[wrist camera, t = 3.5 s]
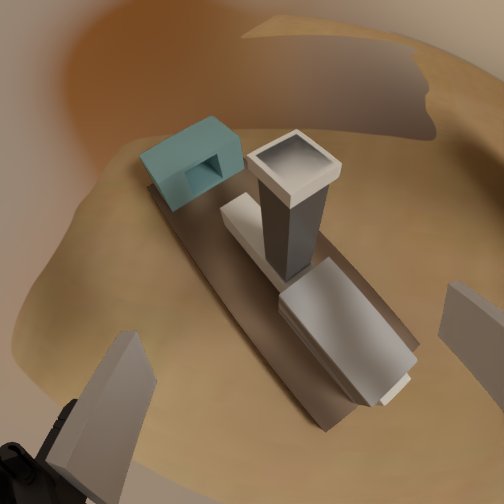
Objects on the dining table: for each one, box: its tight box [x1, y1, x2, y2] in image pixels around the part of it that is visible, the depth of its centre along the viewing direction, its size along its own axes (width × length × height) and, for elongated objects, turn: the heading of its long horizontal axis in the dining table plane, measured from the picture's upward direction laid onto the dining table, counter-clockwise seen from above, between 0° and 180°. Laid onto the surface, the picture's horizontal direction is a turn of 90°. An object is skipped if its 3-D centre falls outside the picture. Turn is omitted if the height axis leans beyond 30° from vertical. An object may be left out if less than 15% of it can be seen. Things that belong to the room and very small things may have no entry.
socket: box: [139, 116, 245, 212], centre depth 31 cm, size 10×6×5 cm, turn 126°
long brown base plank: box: [147, 158, 420, 433], centre depth 26 cm, size 12×34×6 cm, turn 36°
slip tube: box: [220, 129, 411, 406], centre depth 18 cm, size 3×22×14 cm, turn 36°
